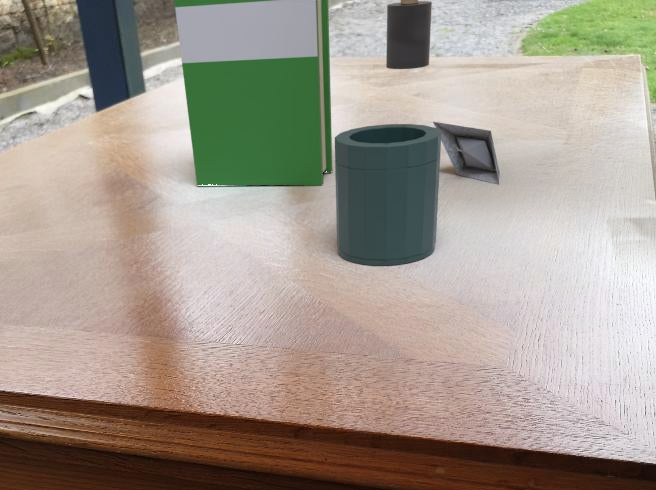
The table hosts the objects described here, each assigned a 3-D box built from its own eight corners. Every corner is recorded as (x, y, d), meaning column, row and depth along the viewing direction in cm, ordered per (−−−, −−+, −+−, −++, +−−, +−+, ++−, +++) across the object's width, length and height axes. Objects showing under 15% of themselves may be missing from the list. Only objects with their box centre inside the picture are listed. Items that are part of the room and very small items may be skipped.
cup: (423, 230, 86) (427, 120, 79) (444, 260, 77) (451, 140, 71) (332, 238, 85) (329, 129, 79) (344, 269, 77) (342, 150, 71)
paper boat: (531, 162, 101) (511, 158, 94) (497, 204, 105) (475, 203, 98) (465, 103, 103) (440, 95, 96) (433, 147, 107) (408, 142, 100)
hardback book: (332, 171, 110) (327, -37, 95) (321, 185, 104) (314, -34, 90) (213, 173, 114) (191, -26, 100) (197, 186, 108) (171, -23, 94)
